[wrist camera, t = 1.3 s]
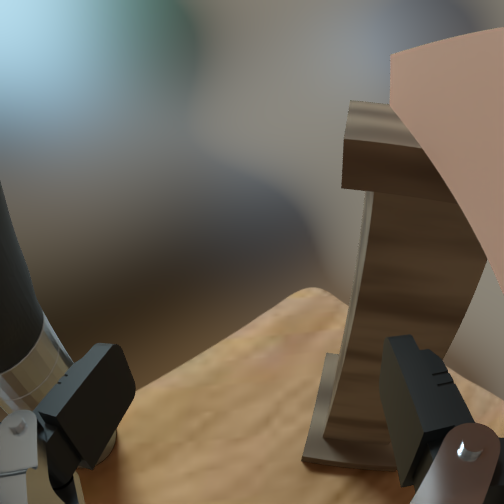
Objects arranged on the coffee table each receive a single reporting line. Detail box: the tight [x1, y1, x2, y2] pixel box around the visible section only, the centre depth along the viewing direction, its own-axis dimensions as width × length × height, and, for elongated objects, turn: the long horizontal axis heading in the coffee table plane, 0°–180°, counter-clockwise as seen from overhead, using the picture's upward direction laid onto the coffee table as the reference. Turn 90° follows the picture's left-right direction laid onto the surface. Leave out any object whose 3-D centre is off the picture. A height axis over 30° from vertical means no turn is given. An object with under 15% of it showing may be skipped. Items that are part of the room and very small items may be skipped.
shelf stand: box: [301, 101, 487, 471], centre depth 23 cm, size 14×10×30 cm
